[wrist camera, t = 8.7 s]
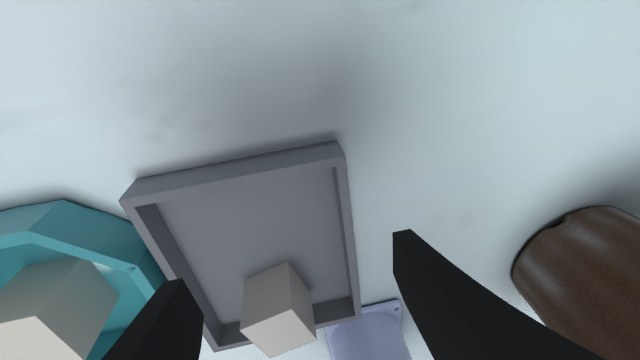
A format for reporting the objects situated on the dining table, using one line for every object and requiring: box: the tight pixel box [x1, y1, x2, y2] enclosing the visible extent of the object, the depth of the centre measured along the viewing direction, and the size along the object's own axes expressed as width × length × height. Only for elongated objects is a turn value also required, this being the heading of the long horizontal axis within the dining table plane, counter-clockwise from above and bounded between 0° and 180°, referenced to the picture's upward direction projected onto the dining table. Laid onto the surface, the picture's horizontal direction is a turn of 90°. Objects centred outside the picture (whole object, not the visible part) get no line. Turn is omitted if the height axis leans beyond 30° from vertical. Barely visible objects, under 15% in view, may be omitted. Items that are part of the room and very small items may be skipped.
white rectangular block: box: [0, 256, 119, 360], centre depth 19 cm, size 5×4×5 cm
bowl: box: [0, 200, 168, 360], centre depth 20 cm, size 14×14×3 cm
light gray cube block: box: [239, 261, 317, 358], centre depth 22 cm, size 4×4×4 cm
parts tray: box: [118, 140, 362, 352], centre depth 22 cm, size 16×13×2 cm
